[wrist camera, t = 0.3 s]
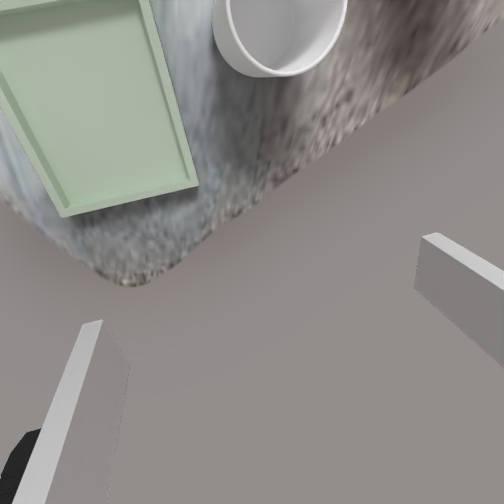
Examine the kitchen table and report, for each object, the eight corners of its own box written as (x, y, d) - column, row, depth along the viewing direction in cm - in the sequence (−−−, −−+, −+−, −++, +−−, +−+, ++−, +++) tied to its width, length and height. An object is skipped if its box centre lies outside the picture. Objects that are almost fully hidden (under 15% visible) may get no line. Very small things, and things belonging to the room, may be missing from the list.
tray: (-38, 11, 25) (-55, 6, 23) (143, -20, 26) (141, -28, 25) (67, 210, 34) (61, 218, 32) (198, 180, 36) (199, 185, 34)
